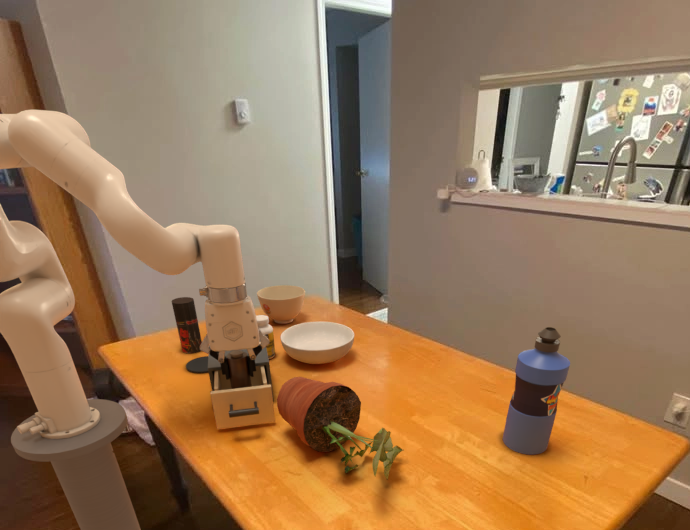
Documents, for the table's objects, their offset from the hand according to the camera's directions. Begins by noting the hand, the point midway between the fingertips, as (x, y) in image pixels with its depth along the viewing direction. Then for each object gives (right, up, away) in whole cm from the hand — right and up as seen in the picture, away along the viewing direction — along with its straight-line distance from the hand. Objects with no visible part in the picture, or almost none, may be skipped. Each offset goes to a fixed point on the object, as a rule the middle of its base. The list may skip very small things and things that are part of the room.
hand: (239, 374), depth 100 cm
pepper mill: (0, -7, +4) cm, 8 cm away
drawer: (0, -9, +4) cm, 10 cm away
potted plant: (+24, -18, -8) cm, 31 cm away
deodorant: (-24, +11, +37) cm, 46 cm away
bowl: (0, +24, +59) cm, 63 cm away
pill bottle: (-1, +8, +33) cm, 34 cm away
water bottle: (+61, -15, -3) cm, 63 cm away
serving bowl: (+14, +8, +33) cm, 37 cm away
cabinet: (-3, -3, +15) cm, 16 cm away
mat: (-17, +5, +28) cm, 33 cm away
